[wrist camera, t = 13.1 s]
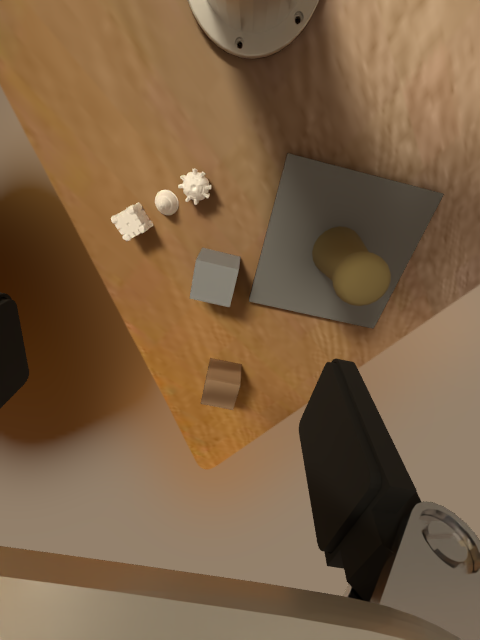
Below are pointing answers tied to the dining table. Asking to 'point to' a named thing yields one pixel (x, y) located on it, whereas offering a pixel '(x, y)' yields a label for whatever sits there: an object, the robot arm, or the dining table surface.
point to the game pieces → (161, 205)
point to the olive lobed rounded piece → (351, 266)
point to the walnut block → (221, 384)
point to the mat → (328, 212)
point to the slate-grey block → (215, 277)
